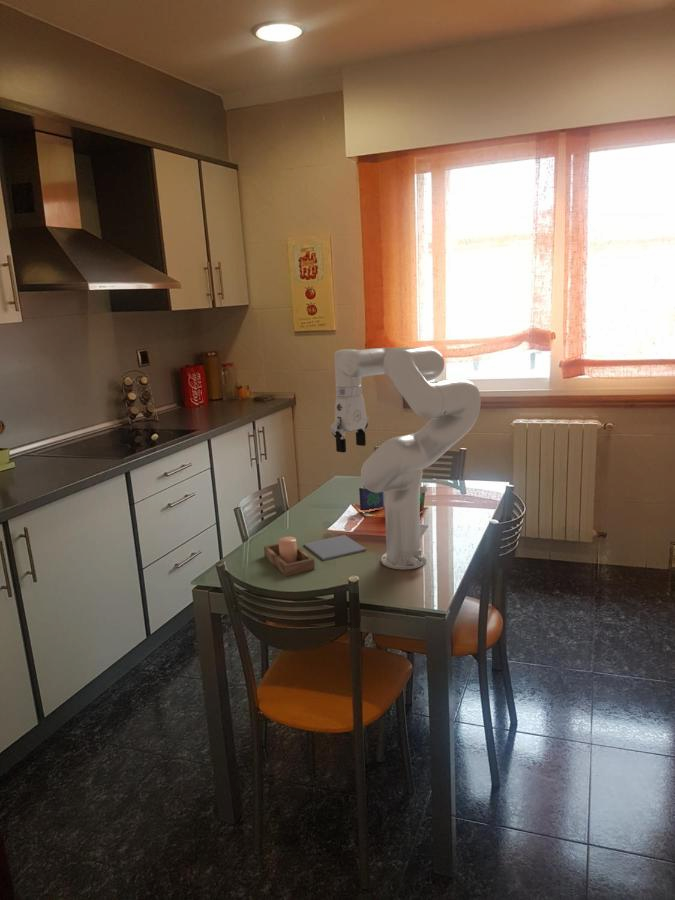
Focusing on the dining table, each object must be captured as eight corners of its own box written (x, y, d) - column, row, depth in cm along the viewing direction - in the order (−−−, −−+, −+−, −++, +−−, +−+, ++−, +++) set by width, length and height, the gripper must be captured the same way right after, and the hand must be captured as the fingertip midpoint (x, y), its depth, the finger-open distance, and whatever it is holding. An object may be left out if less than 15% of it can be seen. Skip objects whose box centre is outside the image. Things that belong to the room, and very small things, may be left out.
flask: (382, 507, 234) (381, 478, 232) (386, 509, 232) (385, 480, 229) (358, 511, 231) (357, 482, 228) (362, 514, 228) (361, 484, 225)
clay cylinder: (300, 563, 187) (298, 540, 186) (283, 567, 185) (282, 544, 184) (293, 558, 192) (292, 535, 190) (277, 561, 189) (275, 538, 188)
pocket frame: (314, 569, 183) (314, 559, 182) (285, 576, 179) (285, 565, 178) (291, 550, 198) (290, 540, 197) (264, 556, 194) (263, 546, 193)
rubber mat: (366, 550, 194) (366, 548, 194) (323, 560, 189) (323, 558, 188) (344, 536, 207) (344, 534, 207) (303, 545, 201) (303, 543, 201)
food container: (389, 517, 223) (388, 488, 221) (392, 511, 229) (391, 483, 227) (425, 518, 220) (425, 489, 218) (427, 512, 226) (427, 484, 224)
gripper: (340, 396, 184) (343, 456, 188) (376, 388, 197) (378, 444, 201) (320, 395, 189) (323, 453, 193) (356, 387, 202) (358, 441, 206)
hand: (351, 448), depth 197 cm, fingers open, 9 cm apart
